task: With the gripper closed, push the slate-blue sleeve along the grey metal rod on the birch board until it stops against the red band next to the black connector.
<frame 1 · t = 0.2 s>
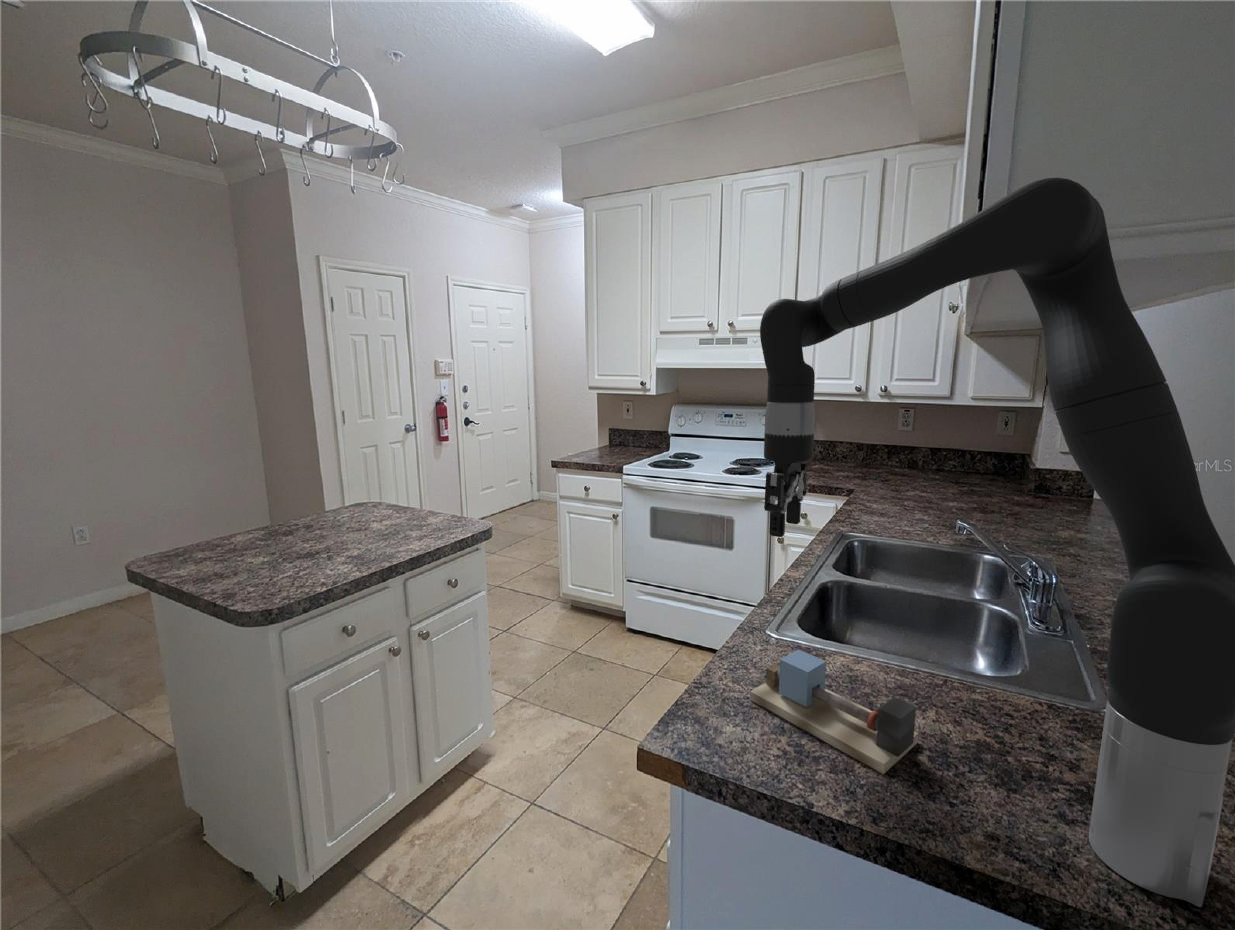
hand: (785, 529, 90), 27 cm above the counter, tool pointing down, fingers open, 8 cm apart
blue sleeve: (802, 677, 87), point 5 cm above the counter, slide at 0.0 cm
rail board: (828, 719, 84), on the counter
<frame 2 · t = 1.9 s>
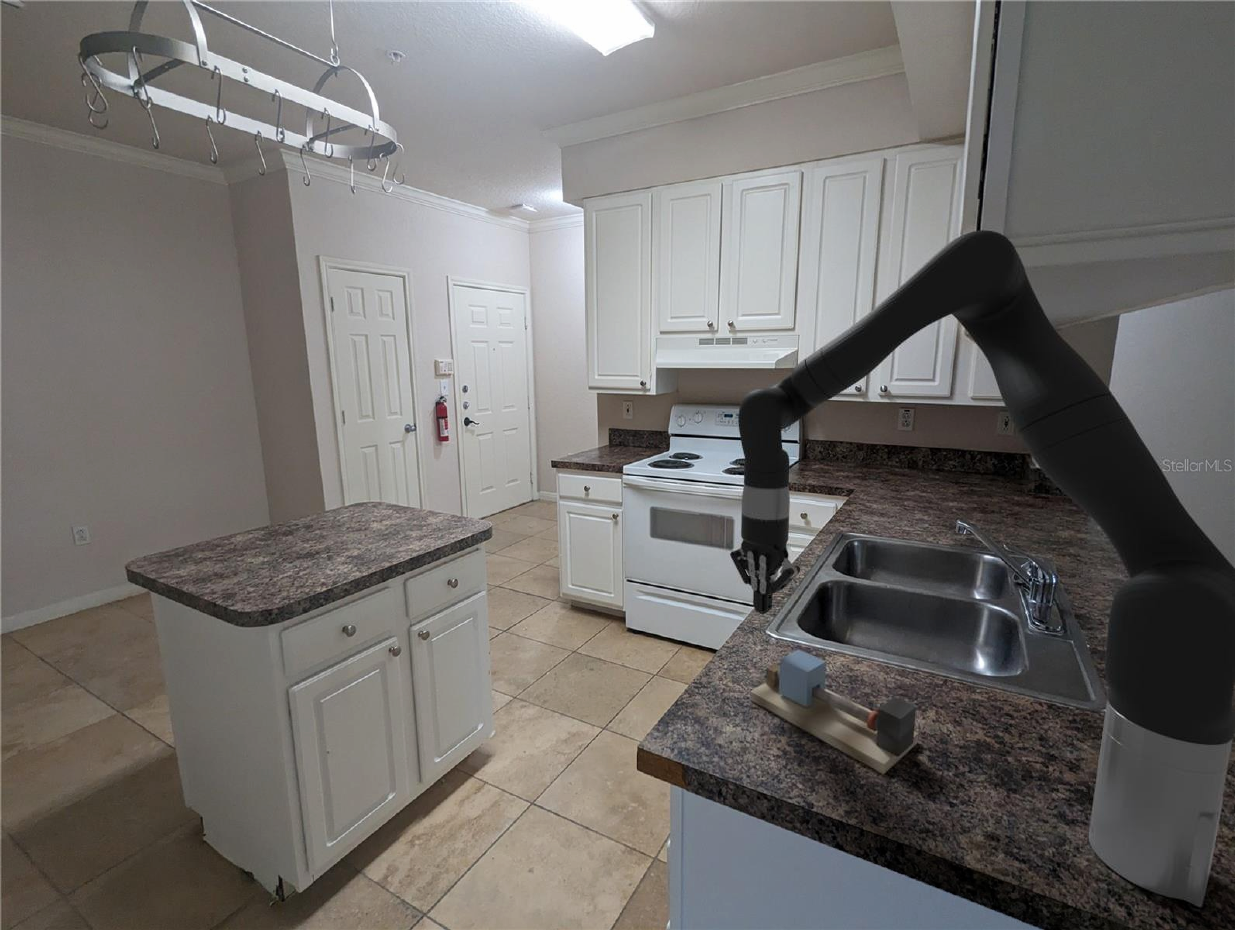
hand: (762, 611, 92), 13 cm above the counter, tool pointing down, fingers closed
nothing on the counter moved.
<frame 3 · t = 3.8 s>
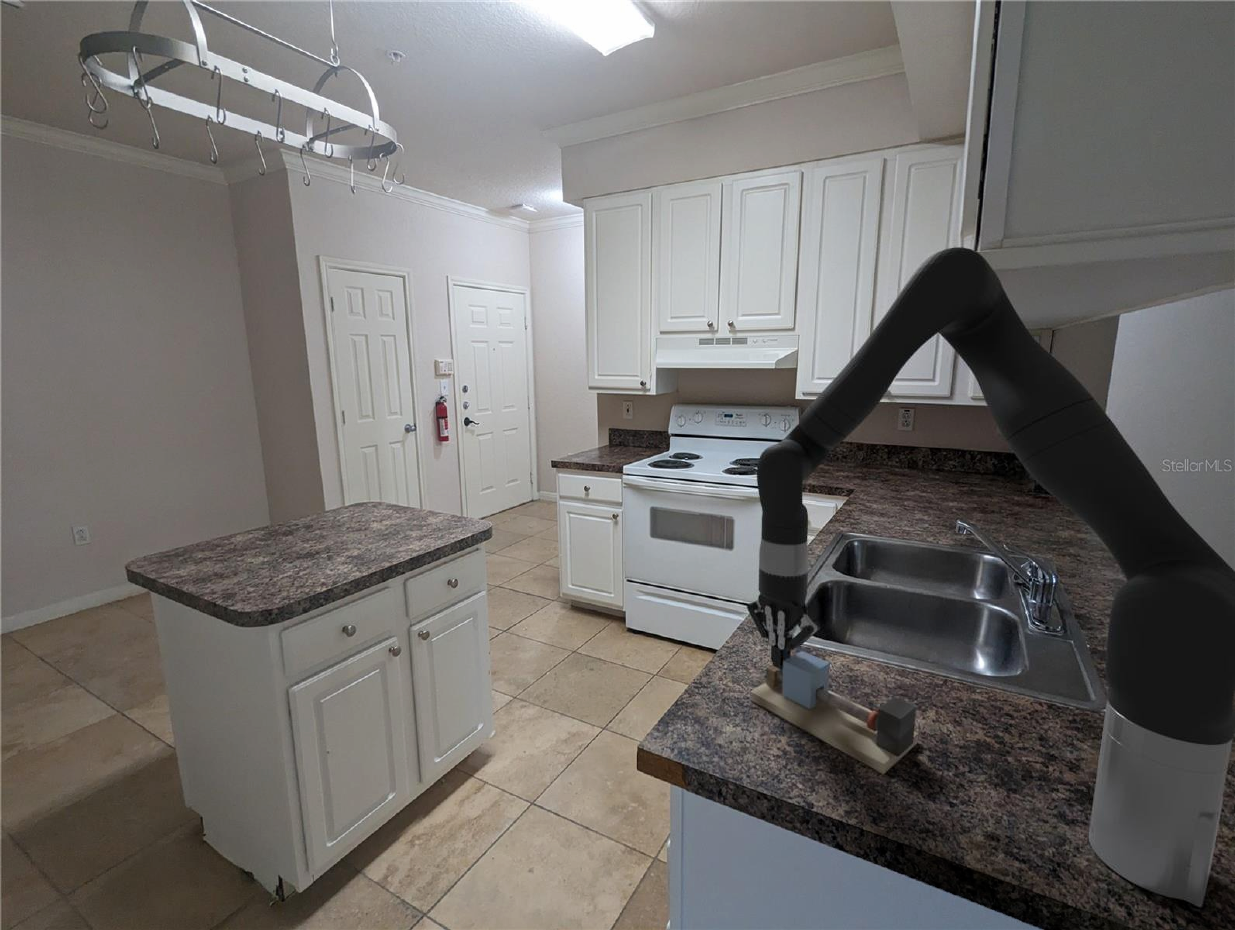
hand: (780, 666, 91), 5 cm above the counter, tool pointing down, fingers closed
blue sleeve: (805, 679, 87), point 5 cm above the counter, slide at 0.6 cm, touching gripper
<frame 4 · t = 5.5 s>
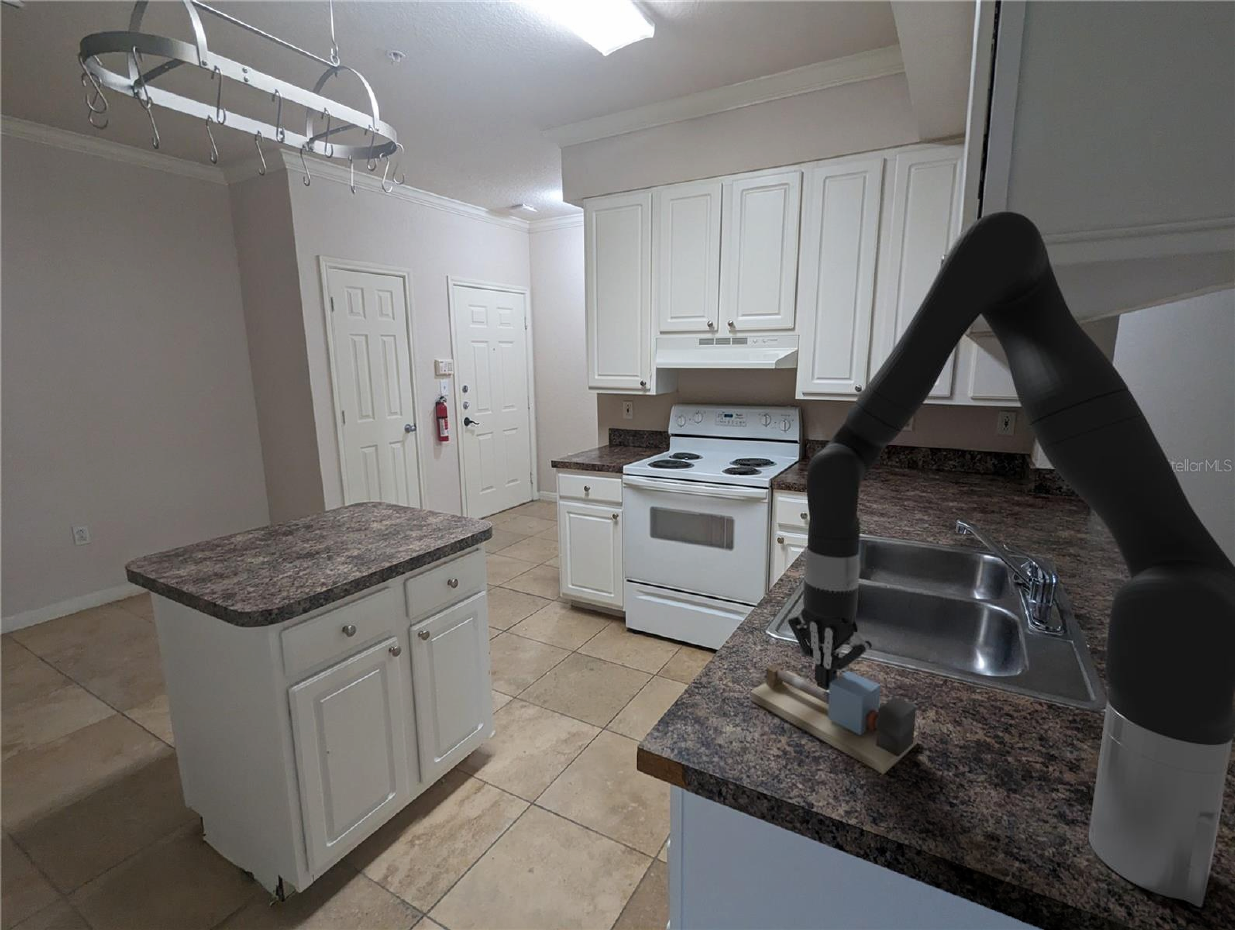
hand: (824, 686, 84), 5 cm above the counter, tool pointing down, fingers closed
blue sleeve: (854, 701, 81), point 5 cm above the counter, slide at 8.7 cm, touching gripper
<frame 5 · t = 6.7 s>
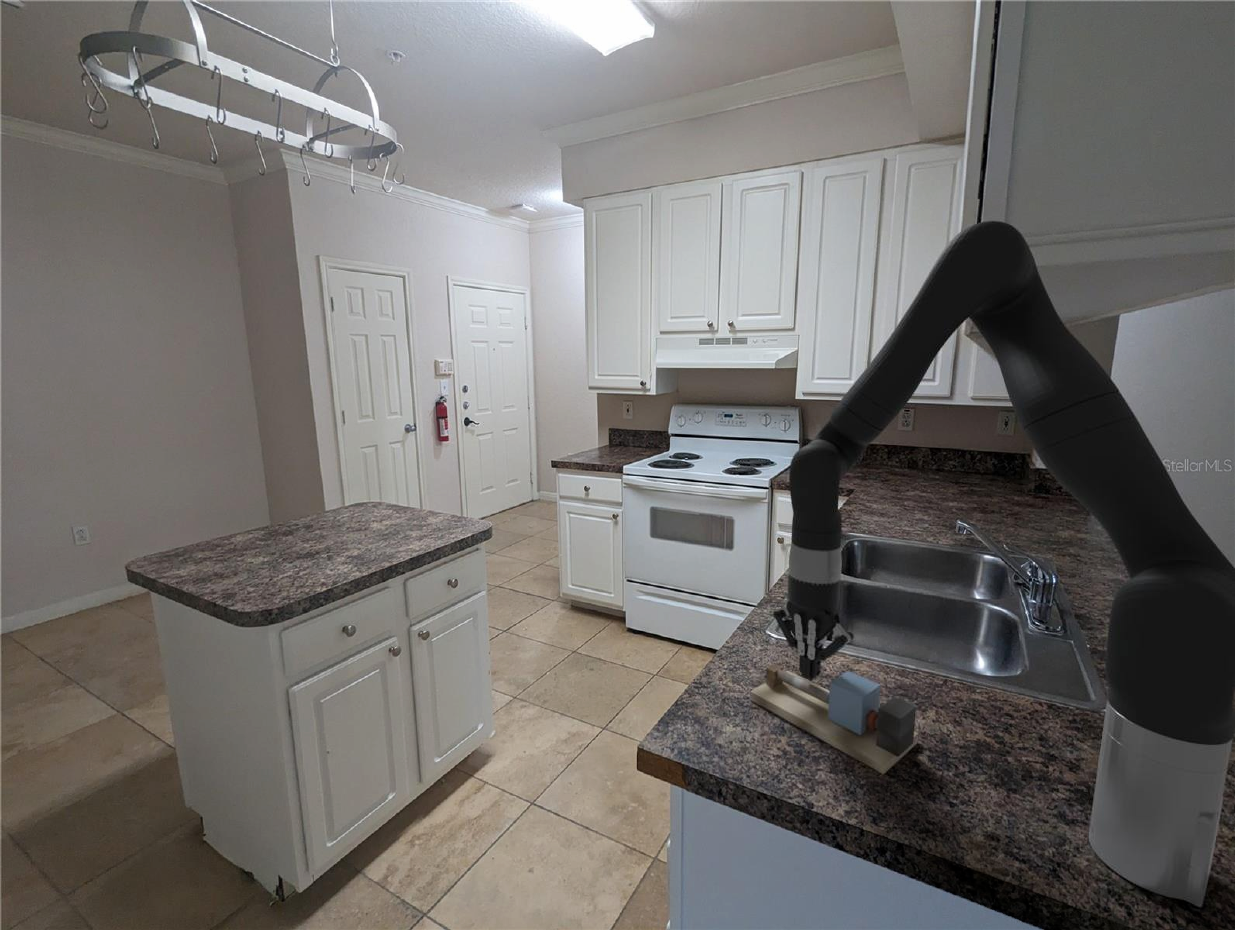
hand: (809, 677, 86), 5 cm above the counter, tool pointing down, fingers closed
blue sleeve: (853, 701, 81), point 5 cm above the counter, slide at 8.7 cm
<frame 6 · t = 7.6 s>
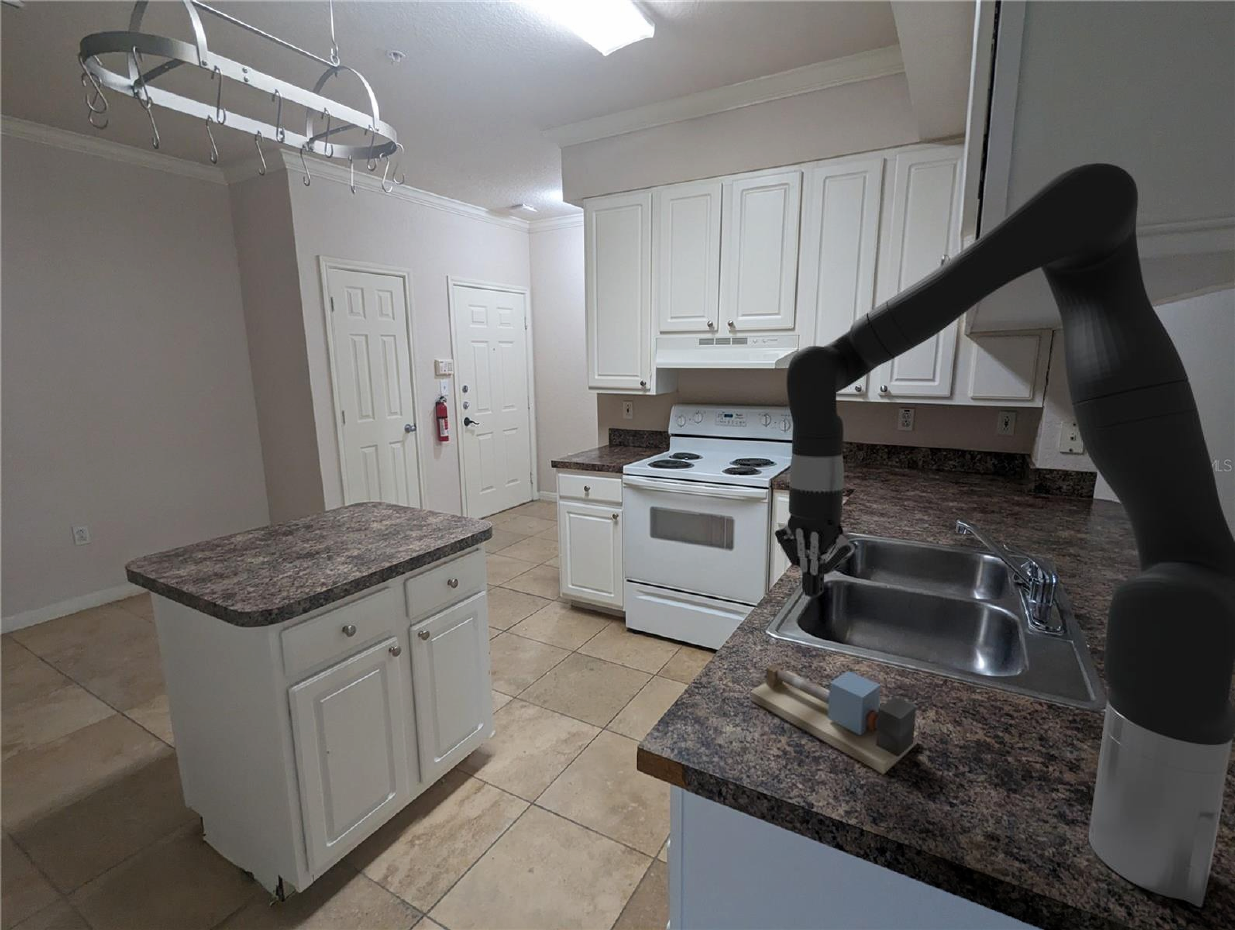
hand: (812, 595, 84), 19 cm above the counter, tool pointing down, fingers closed
nothing on the counter moved.
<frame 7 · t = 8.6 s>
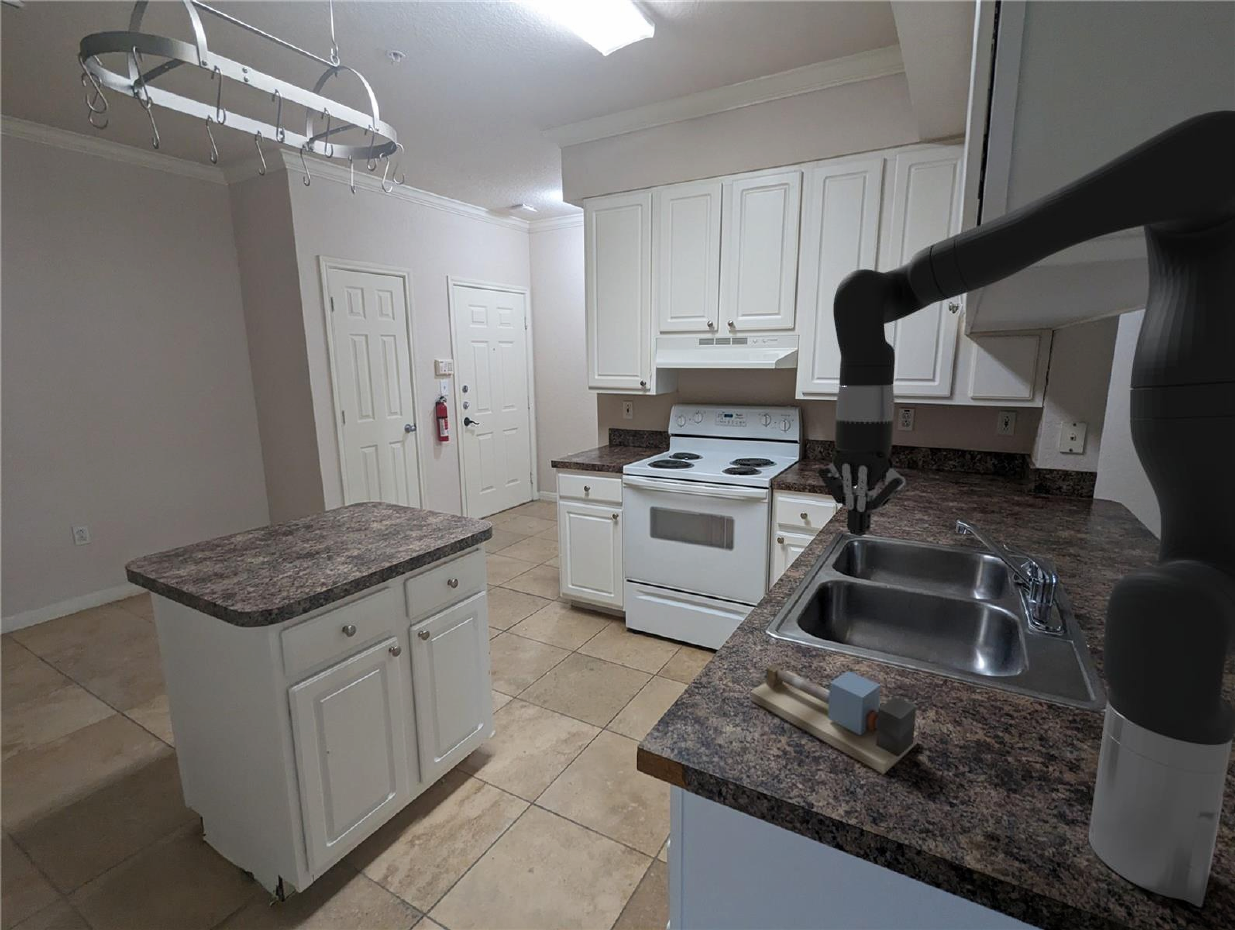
hand: (857, 534, 81), 29 cm above the counter, tool pointing down, fingers closed
nothing on the counter moved.
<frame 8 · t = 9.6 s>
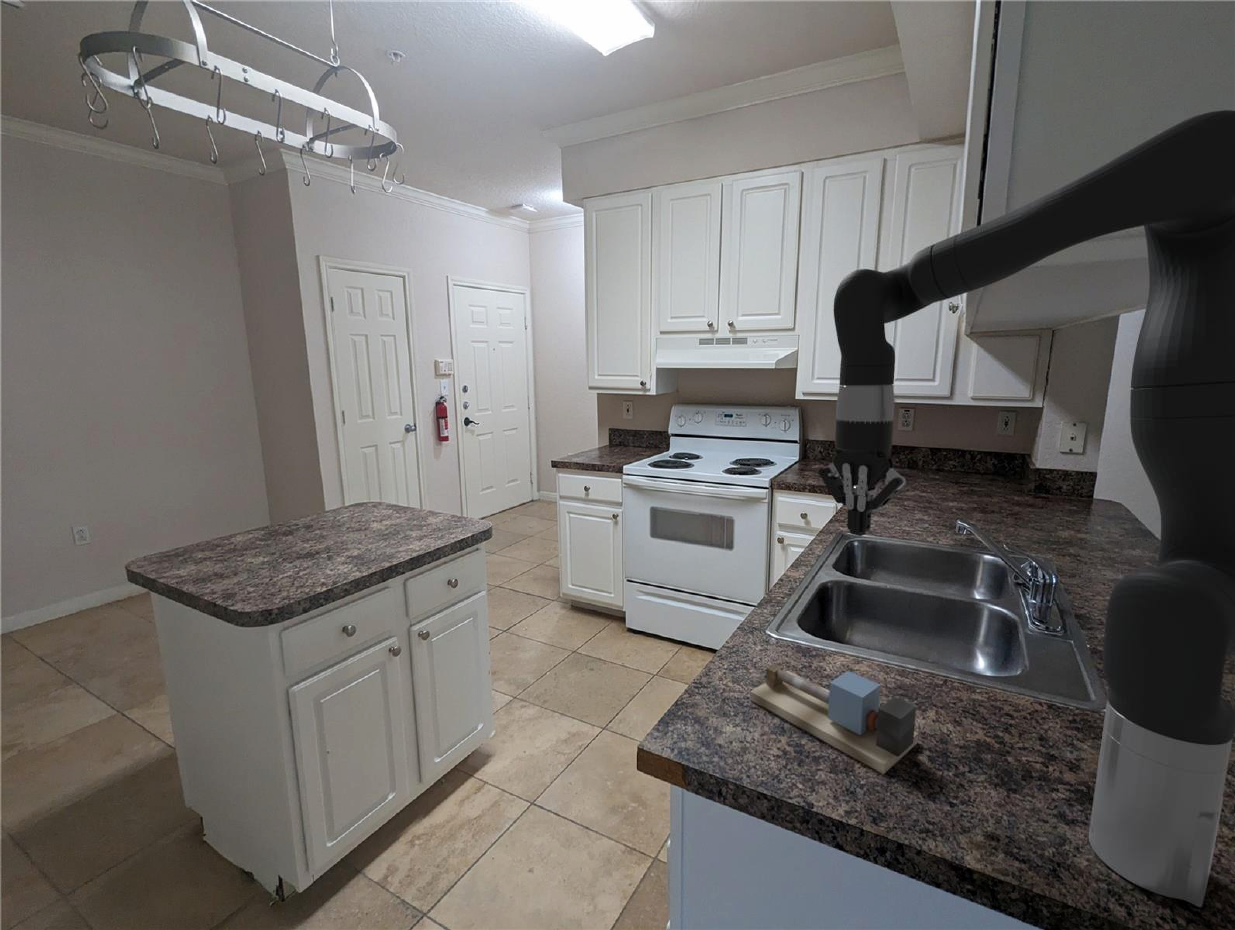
hand: (858, 534, 81), 29 cm above the counter, tool pointing down, fingers closed
nothing on the counter moved.
at the end: blue sleeve slide at 8.7 cm; the gripper is holding nothing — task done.
